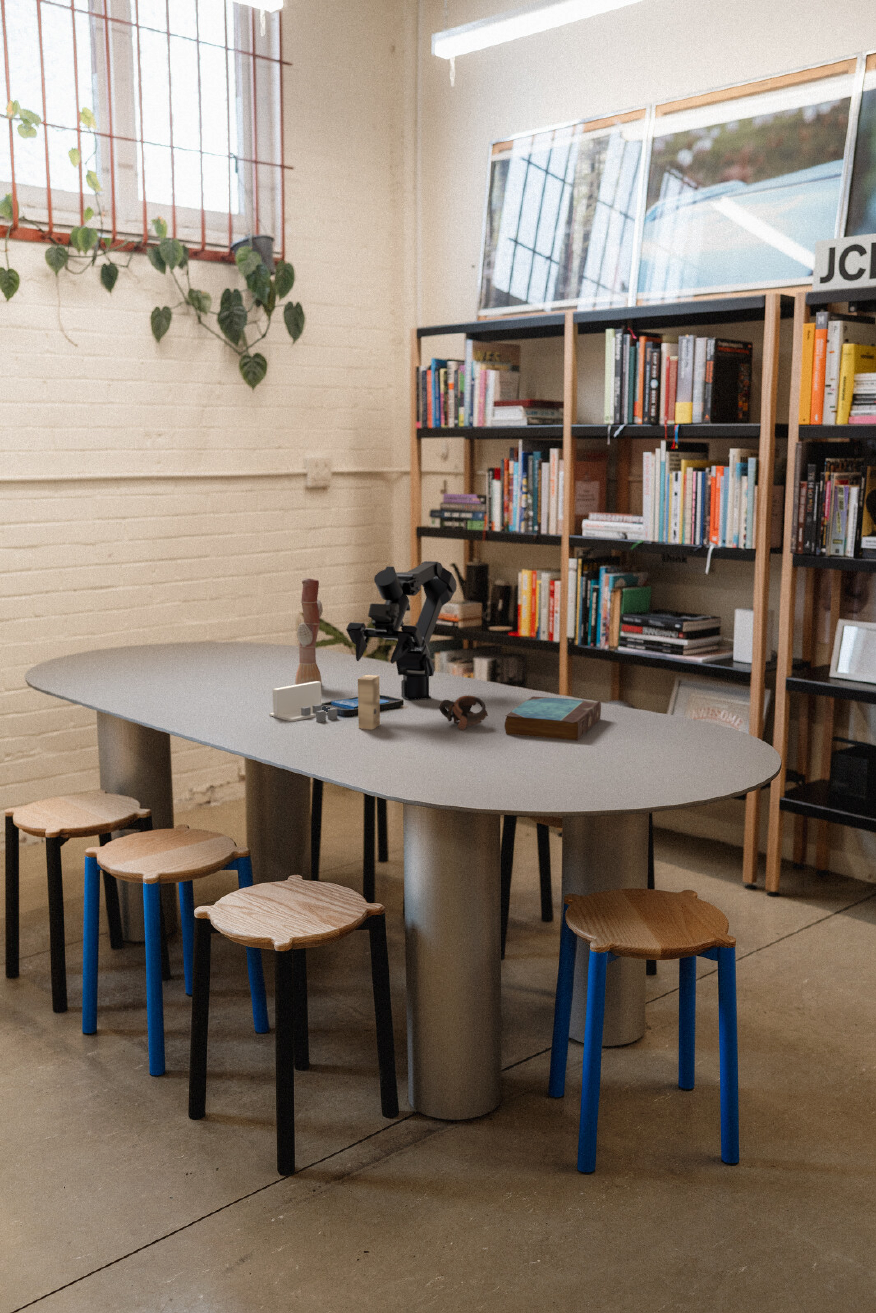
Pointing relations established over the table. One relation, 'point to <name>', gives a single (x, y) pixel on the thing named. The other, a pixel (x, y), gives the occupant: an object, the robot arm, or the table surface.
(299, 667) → the reddish-brown tall column
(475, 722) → the brown looped piece
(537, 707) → the book
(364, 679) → the wooden building block
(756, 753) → the table surface
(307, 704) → the cream board with pegs
